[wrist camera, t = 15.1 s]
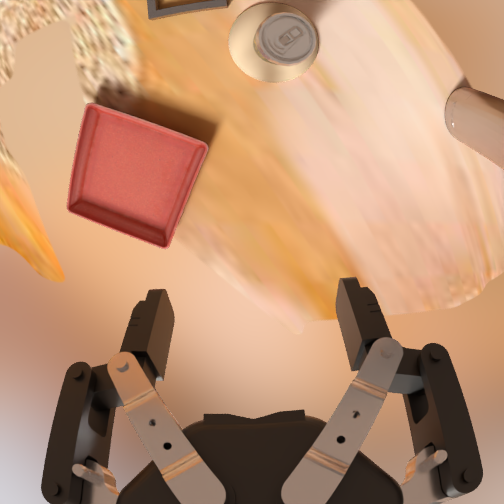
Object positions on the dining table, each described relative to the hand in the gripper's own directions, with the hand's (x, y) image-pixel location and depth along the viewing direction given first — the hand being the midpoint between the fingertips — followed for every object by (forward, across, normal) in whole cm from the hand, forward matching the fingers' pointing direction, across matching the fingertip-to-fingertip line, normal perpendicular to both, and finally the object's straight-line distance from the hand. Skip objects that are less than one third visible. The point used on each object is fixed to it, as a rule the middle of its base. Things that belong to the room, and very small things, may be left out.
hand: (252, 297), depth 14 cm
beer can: (+30, -4, -12) cm, 32 cm away
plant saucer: (+31, +17, +4) cm, 35 cm away
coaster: (+30, -4, -12) cm, 33 cm away
